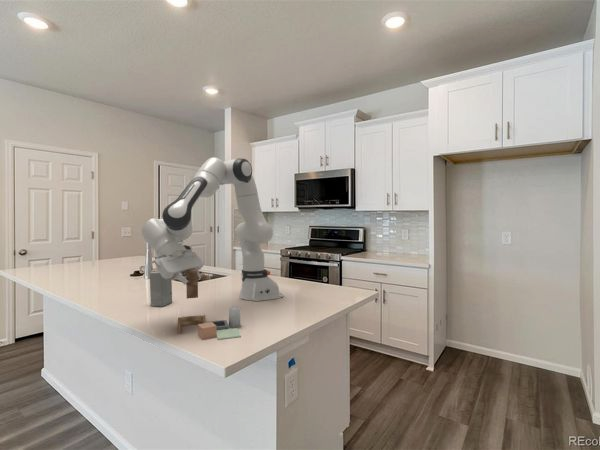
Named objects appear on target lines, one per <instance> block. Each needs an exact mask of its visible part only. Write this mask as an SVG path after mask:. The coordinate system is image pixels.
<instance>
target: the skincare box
mask: <svg viewBox="0 0 600 450" xmlns="http://www.w3.org/2000/svg"><path fill="white" fill-rule="evenodd" d="M172 283H173V281H172V278H169V279H165V278H163V277H162V276H161V274H160V273H159V271H158V270H157V271H153V272H152V271H151V272H149V292H150V293H149V294H150V295H149V296H150V306H151V307H165V306H168V305H169V304H172V303H173V288H172V287H173V286H172Z"/></svg>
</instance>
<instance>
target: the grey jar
mask: <svg viewBox="0 0 600 450" xmlns="http://www.w3.org/2000/svg"><path fill="white" fill-rule="evenodd" d="M228 326H229V329H233V328H237V327H238V328H241V306H234V305H233V306H230V307H228Z"/></svg>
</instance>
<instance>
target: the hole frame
mask: <svg viewBox="0 0 600 450" xmlns="http://www.w3.org/2000/svg"><path fill="white" fill-rule="evenodd" d="M208 322H213V323H214V324H215V325H216V326H217V330H224V329H230V327H229V322H228V321H227V319H222V320H212V321H206V323H208Z"/></svg>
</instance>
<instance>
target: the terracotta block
mask: <svg viewBox="0 0 600 450" xmlns="http://www.w3.org/2000/svg"><path fill="white" fill-rule="evenodd" d="M207 322H208V323H201V324H197V335H198V337H199V338H200V339H201V340H206V339H212V338H217V326H216V325H215V324H214V323H213V322H210V321H207Z"/></svg>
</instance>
